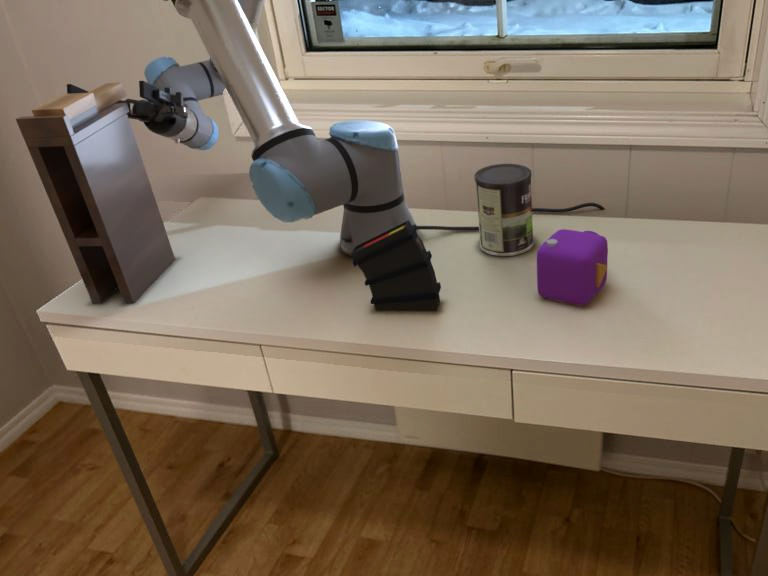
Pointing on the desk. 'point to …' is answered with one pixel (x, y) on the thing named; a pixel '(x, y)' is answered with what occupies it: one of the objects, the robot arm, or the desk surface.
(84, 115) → the tan block
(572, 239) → the toy camera
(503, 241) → the coffee can
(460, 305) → the desk surface
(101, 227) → the shelf
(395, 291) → the magazine
